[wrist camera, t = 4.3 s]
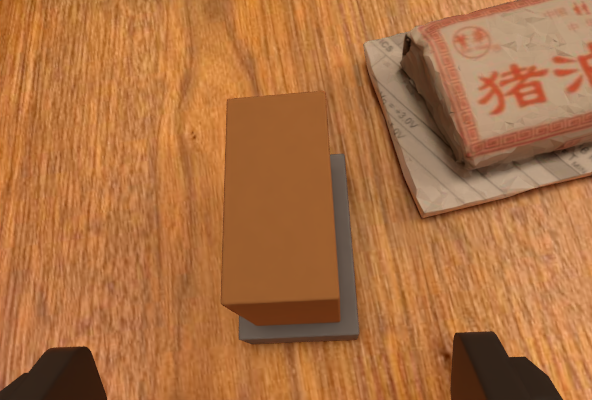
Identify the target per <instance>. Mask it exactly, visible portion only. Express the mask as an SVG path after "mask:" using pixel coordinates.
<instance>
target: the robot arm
mask: <svg viewBox="0 0 592 400" xmlns="http://www.w3.org/2000/svg"><path fill="white" fill-rule="evenodd" d="M0 400H107V397H106V393H105V390H104V388H103V385H102V382H101V379H100V376H99V373H98V370H97V367H96V364H95V361H94V358H93V356H92V353H91V351H90V350H89V349H88V348H87V347H60V348H50V349H48V350H47V351H46V352H45V353H44V354H43V355H42V356H41V358H40V359H39V360H38V361H37V363H36V364H35V365H34V366H33V368H32V369H31V370H30V371H29V373H24V374H22V375H21V376H20V377H18V378H17V379H16V380H14V381H13V382H12V383H11V384H9V385H8V386H7V387H5V388H4V389H3V390H2V391H0ZM451 400H563V399H562V397H561V396H560V394H559V393H558V391H557V389H556V388H555V386H554V385H553V383H552V381H551V380H550V378H549V377H548V376H547V375H546V374H545V373H544V372H543V371H541V370H540V369H539V368H538V367H537V366H535V365H534V364H533V363H532V362H531V361H529V360H528V359H527V358H526V357H508V355H507V353H506V351H505V349H504V348H503V346H502V344H501V342H500V340H499V339H498V337H497V335H496V334H495V333H494V332H492V331H490V332H465V333H455V335H454V340H453V355H452V372H451Z"/></svg>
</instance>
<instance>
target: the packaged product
mask: <svg viewBox="0 0 592 400" xmlns="http://www.w3.org/2000/svg"><path fill="white" fill-rule="evenodd" d="M363 46H364V52H365V58H366V64H367V68H368V72H369V76H370V78H371V81H372V84H373V86H374V89H375V92H376V94H377V97H378V100H379V102H380V105H381V108H382V110H383V113H384V116H385V119H386V122H387V126H388V129H389V132H390V135H391V138H392V141H393V144H394V147H395V150H396V153H397V156H398V159H399V162H400V166H401V169H402V172H403V175H404V178H405V180H406V182H407V185H408V187H409V189H410V191H411V194H412V196H413V198H414V201H415V203H416V205H417V208H418V210H419V212H420V215H421V217H422V218H425V217H429V216H433V215H437V214H441V213H445V212H449V211H453V210H458V209H462V208H466V207H470V206H474V205H478V204H482V203H486V202H490V201H494V200H499V199H503V198H507V197H510V196H512V195H515V194H518V193H521V192H524V191H527V190H530V189H533V188H538V187H542V186H547V185H551V184H555V183H560V182H564V181H569V180H573V179H577V178H582V177H586V176H591V175H592V0H517V1H514V2H507V3H504V4H500V5H497V6H493V7H489V8H485V9H482V10H478V11H475V12H472V13H469V14H466V15H458V16H452V17H447V18H444V19H441V20H437V21H431V22H429V23H427V24H425V25H420V26H416V27H415V28H413V29H412V30H411V31H409V32H406V33H400V34H396V35H394V36H391V37H386V38H382V39H378V40H372V41H367V42H365V43H364V44H363Z"/></svg>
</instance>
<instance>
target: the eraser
mask: <svg viewBox="0 0 592 400" xmlns="http://www.w3.org/2000/svg"><path fill="white" fill-rule="evenodd" d="M221 304H222V305H223V306H225V307H226V308H228V309H230V310H231V311H233V312H235V313H236V314H238V315H239V340H242V341H245V342H247V343H250V344H266V343H289V342H313V341H337V340H356V339H357V338H358V335H359V322H358V310H357V298H356V286H355V274H354V262H353V250H352V238H351V226H350V214H349V202H348V190H347V178H346V166H345V155H344V154H332V155H330V149H329V134H328V120H327V105H326V93H325V91H315V92H304V93H292V94H280V95H269V96H257V97H245V98H234V99H228V100H227V115H226V148H225V181H224V213H223V246H222V279H221Z"/></svg>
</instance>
